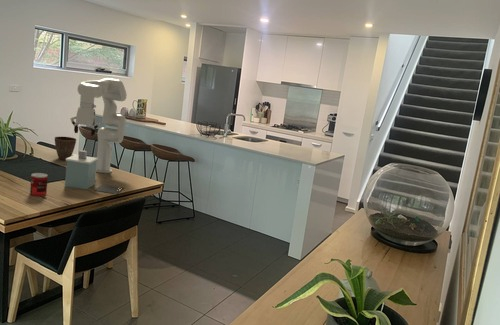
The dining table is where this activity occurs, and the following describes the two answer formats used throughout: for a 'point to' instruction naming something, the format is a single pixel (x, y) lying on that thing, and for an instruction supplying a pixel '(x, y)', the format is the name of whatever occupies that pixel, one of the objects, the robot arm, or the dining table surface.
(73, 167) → the tub
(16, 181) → the dining table surface
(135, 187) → the dining table surface
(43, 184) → the canned food
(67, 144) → the plant pot
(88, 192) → the dining table surface
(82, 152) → the lid
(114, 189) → the mat
